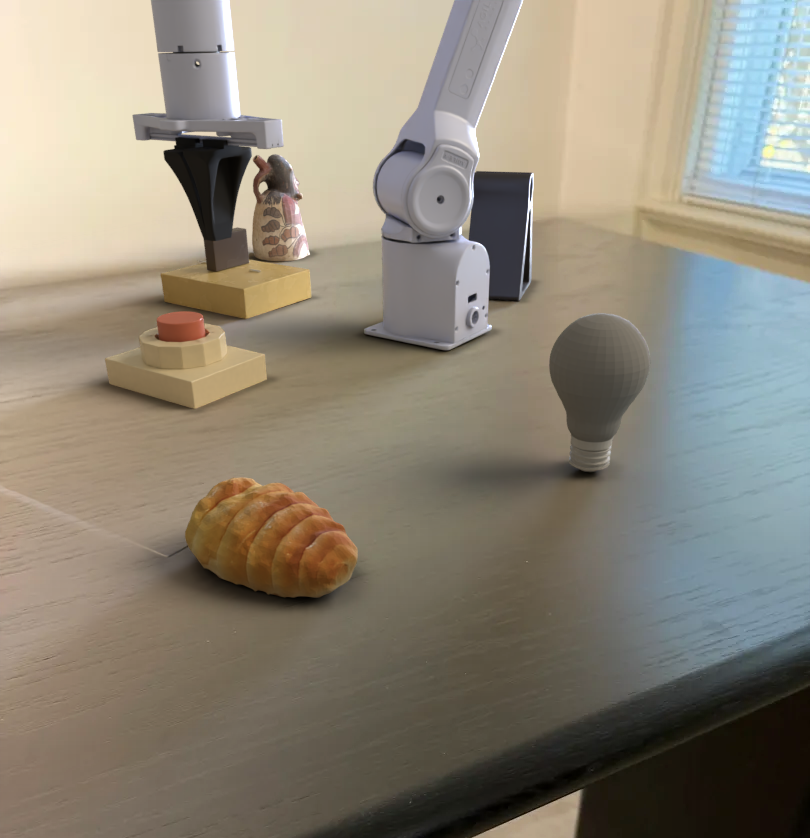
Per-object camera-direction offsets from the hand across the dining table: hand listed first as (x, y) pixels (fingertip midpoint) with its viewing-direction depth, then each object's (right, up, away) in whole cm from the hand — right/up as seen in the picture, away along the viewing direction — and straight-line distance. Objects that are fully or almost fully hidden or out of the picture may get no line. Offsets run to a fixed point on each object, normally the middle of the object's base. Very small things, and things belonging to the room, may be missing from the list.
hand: (217, 238), depth 74 cm
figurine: (0, +11, +40) cm, 41 cm away
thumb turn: (-3, +4, +21) cm, 22 cm away
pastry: (+9, -26, -26) cm, 38 cm away
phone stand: (+26, +2, +24) cm, 35 cm away
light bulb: (+27, -21, -17) cm, 38 cm away
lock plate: (-2, 0, +21) cm, 21 cm away
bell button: (-2, -9, -3) cm, 10 cm away
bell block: (-2, -12, -2) cm, 13 cm away
